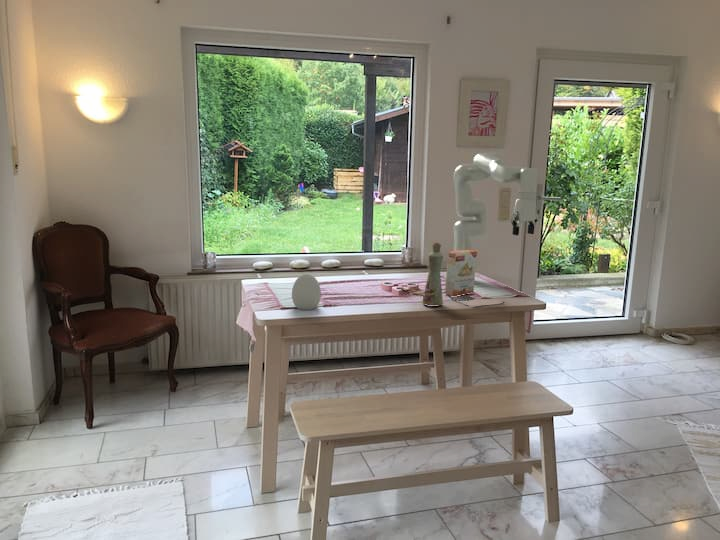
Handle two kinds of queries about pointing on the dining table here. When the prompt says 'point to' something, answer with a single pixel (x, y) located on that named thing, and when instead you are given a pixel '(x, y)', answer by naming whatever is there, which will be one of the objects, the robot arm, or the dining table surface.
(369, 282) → the dining table surface
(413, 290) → the turner
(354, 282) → the dining table surface
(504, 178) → the robot arm
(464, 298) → the mat
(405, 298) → the dining table surface
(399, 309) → the dining table surface
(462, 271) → the cracker box
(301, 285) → the decorative egg
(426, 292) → the bottle
